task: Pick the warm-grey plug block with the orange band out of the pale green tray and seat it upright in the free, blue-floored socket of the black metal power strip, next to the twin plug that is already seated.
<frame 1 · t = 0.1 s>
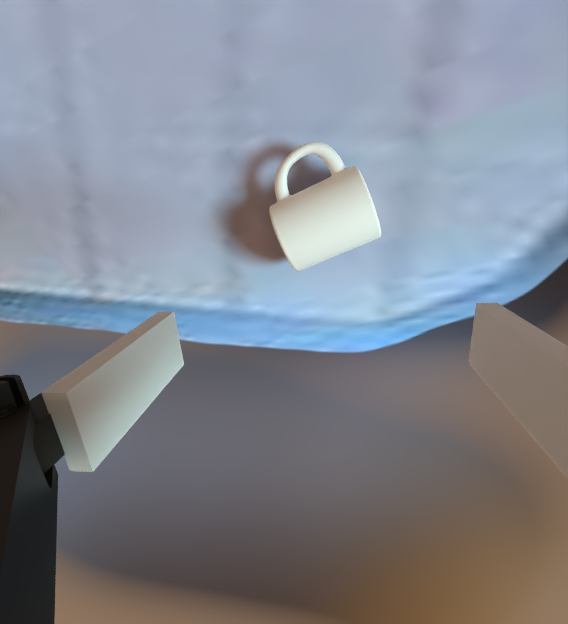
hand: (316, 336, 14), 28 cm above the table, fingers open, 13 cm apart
mug: (318, 203, 39), on the table
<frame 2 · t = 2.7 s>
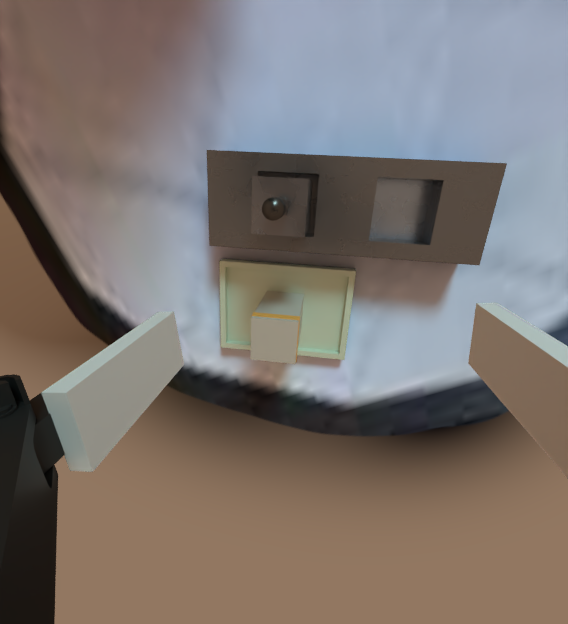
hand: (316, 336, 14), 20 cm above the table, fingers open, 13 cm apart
plug: (284, 309, 35), resting on tray
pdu: (342, 206, 31), on the table
tray: (285, 308, 35), on the table
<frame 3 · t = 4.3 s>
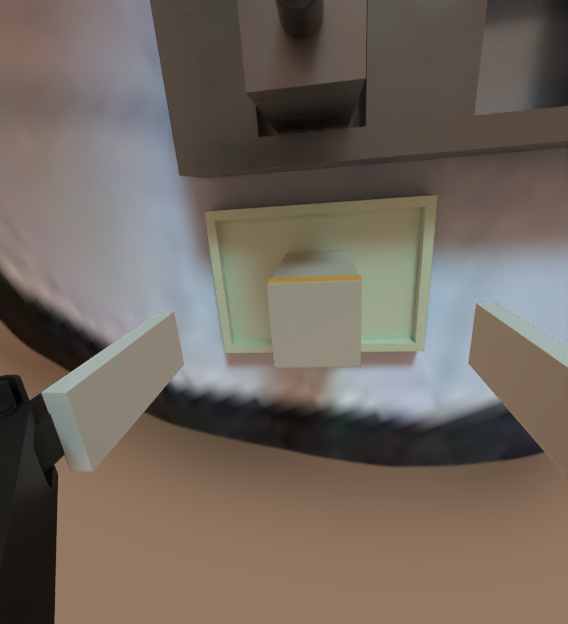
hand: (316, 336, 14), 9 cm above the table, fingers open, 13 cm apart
plug: (318, 281, 22), resting on tray
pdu: (402, 82, 18), on the table
tray: (318, 279, 22), on the table
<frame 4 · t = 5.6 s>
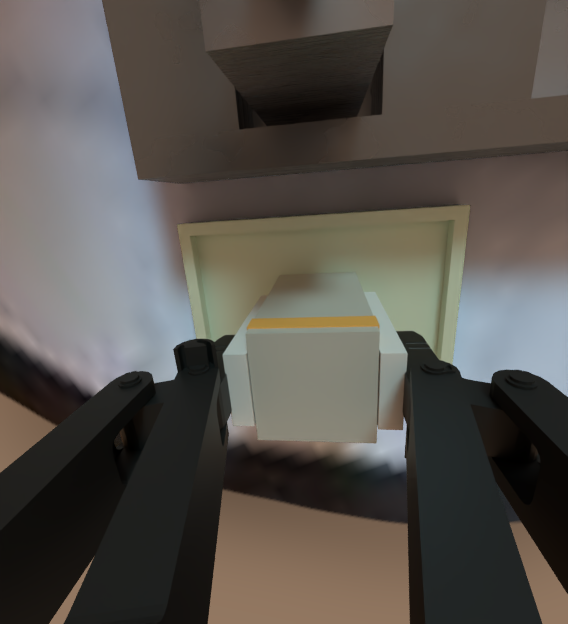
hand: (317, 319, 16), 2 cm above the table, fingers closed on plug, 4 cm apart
plug: (318, 309, 18), resting on tray, touching gripper
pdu: (425, 61, 14), on the table
tray: (318, 306, 18), on the table
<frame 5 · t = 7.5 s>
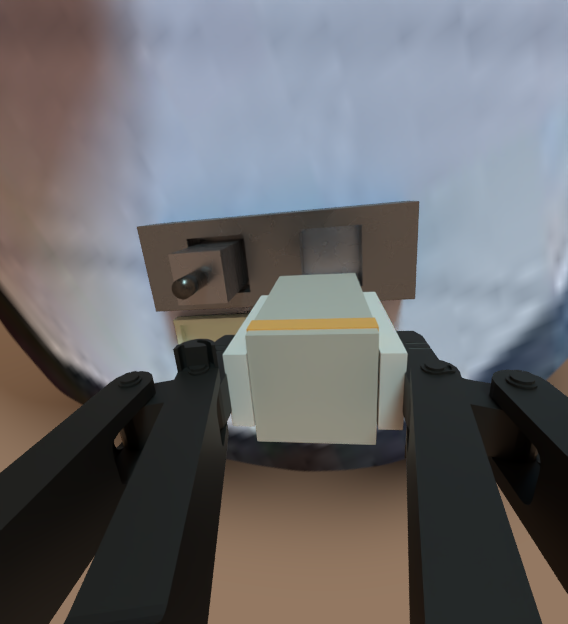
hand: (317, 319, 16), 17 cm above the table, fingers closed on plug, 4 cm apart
plug: (318, 310, 18), point 15 cm above the table, touching gripper
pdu: (279, 254, 32), on the table
tray: (245, 355, 36), on the table
when the fingers open (5 cm above the table, at t = 9.3 s): plug drops 2 cm, resting on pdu.
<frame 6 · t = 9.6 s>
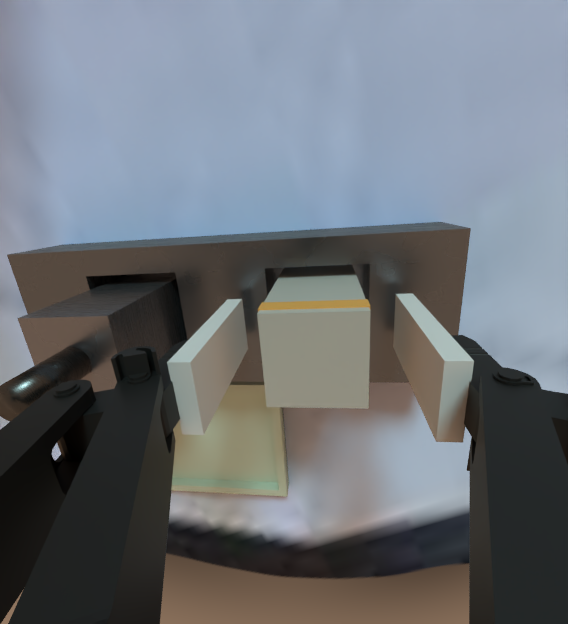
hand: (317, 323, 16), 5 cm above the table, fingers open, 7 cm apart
plug: (318, 299, 19), point 1 cm above the table, touching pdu
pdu: (243, 296, 21), on the table
tray: (197, 431, 25), on the table
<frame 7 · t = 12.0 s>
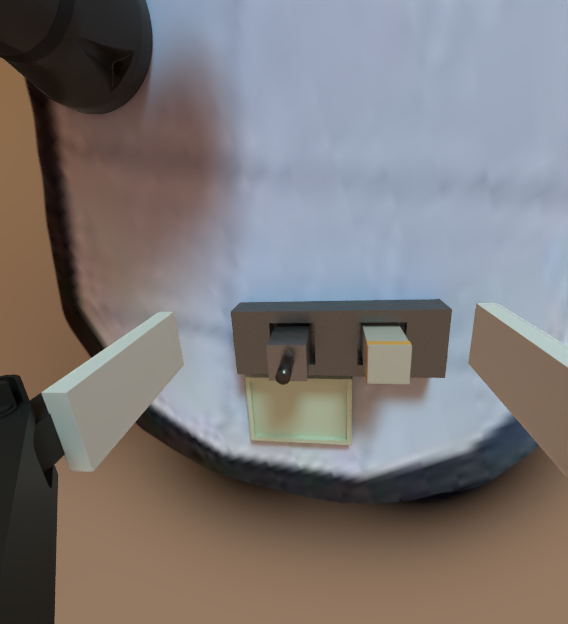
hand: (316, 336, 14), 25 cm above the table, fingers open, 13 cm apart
plug: (377, 335, 39), point 1 cm above the table, touching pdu
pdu: (335, 331, 40), on the table
tray: (299, 406, 44), on the table
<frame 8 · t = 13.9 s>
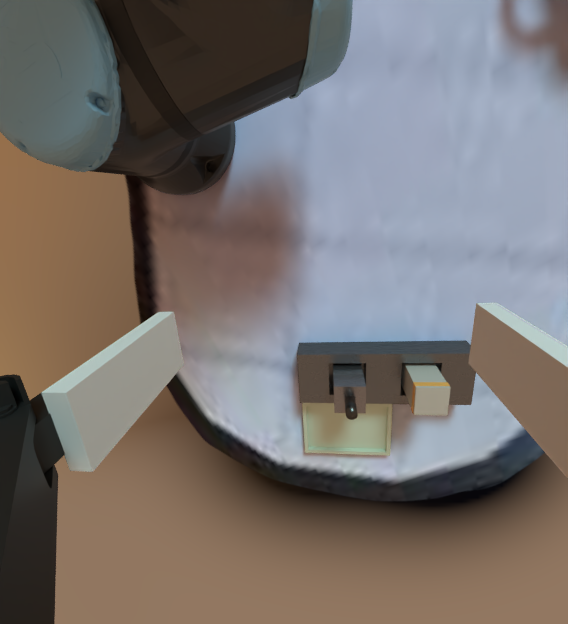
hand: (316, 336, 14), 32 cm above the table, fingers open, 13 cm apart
plug: (415, 369, 47), point 1 cm above the table, touching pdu
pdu: (379, 365, 49), on the table
tray: (346, 424, 53), on the table
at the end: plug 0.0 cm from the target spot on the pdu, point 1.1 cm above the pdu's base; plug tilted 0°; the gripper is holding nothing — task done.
